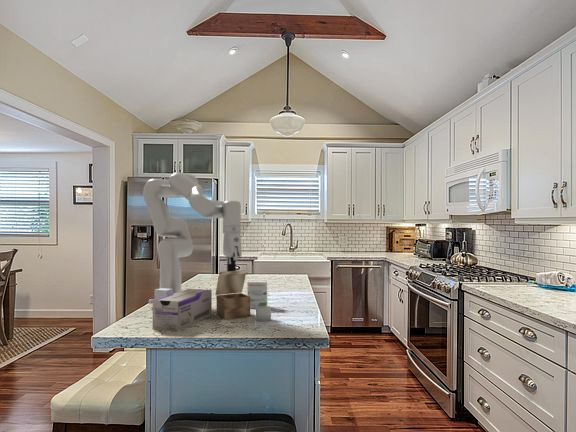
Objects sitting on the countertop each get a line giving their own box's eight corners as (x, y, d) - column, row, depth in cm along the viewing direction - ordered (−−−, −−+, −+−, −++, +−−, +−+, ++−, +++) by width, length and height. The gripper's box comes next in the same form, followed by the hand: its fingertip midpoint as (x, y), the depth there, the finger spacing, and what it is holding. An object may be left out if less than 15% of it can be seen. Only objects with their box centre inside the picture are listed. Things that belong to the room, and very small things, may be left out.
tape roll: (259, 322, 148) (259, 309, 148) (253, 319, 153) (253, 306, 153) (273, 320, 150) (273, 307, 151) (266, 317, 156) (266, 305, 156)
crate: (225, 319, 152) (225, 299, 152) (216, 314, 161) (216, 295, 161) (250, 316, 158) (250, 296, 158) (240, 311, 166) (240, 293, 166)
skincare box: (173, 318, 154) (173, 288, 154) (166, 321, 150) (166, 290, 150) (160, 317, 156) (160, 287, 156) (153, 319, 152) (154, 289, 152)
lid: (221, 274, 155) (219, 271, 157) (217, 297, 159) (215, 293, 161) (247, 273, 161) (245, 270, 163) (243, 294, 165) (241, 291, 167)
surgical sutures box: (178, 331, 136) (178, 301, 136) (152, 329, 138) (152, 299, 139) (211, 315, 160) (211, 290, 160) (188, 314, 162) (188, 288, 163)
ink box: (267, 306, 177) (267, 280, 177) (265, 308, 172) (265, 282, 172) (249, 306, 178) (249, 280, 178) (247, 308, 173) (247, 282, 173)
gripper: (247, 230, 157) (246, 275, 157) (233, 229, 170) (232, 271, 170) (229, 230, 153) (229, 276, 153) (217, 229, 166) (216, 272, 166)
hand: (231, 273), depth 161 cm, fingers closed
